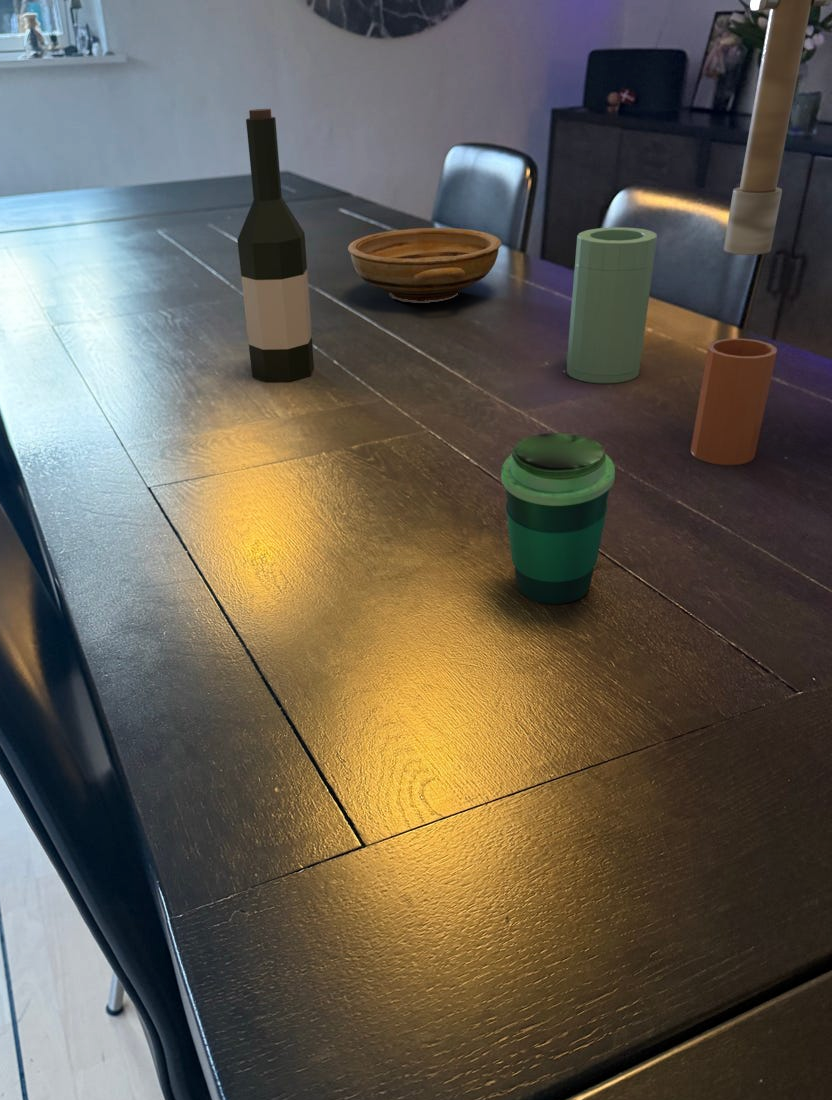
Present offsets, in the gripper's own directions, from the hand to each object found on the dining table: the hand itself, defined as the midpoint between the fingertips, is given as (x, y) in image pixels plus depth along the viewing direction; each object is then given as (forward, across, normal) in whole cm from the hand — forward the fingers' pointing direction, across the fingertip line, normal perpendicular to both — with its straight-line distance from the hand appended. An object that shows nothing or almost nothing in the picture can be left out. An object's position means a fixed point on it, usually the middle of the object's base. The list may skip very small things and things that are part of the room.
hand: (789, 8), depth 74 cm
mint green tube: (+37, +4, -26) cm, 45 cm away
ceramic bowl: (+38, +20, -69) cm, 81 cm away
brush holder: (+37, 0, +2) cm, 37 cm away
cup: (+37, +23, +25) cm, 51 cm away
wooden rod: (+18, 0, 0) cm, 18 cm away
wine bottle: (+37, +44, -34) cm, 67 cm away
